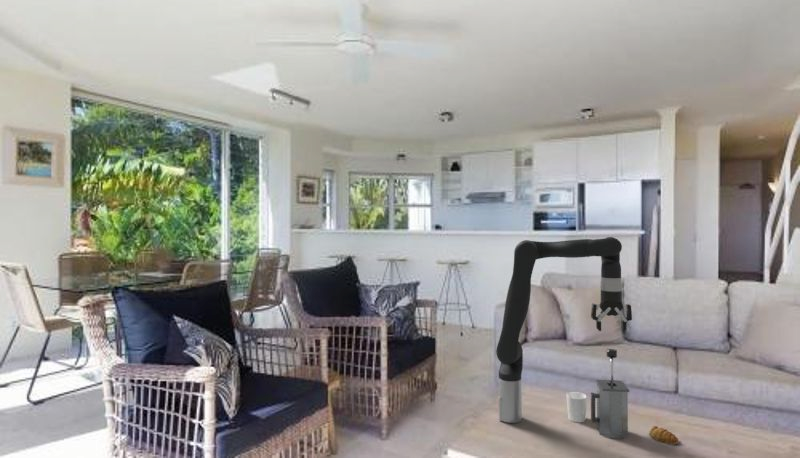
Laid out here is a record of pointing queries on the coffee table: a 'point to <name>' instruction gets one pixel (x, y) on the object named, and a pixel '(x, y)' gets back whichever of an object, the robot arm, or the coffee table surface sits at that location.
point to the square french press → (611, 409)
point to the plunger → (611, 362)
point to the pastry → (663, 435)
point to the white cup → (576, 406)
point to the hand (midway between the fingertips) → (611, 330)
